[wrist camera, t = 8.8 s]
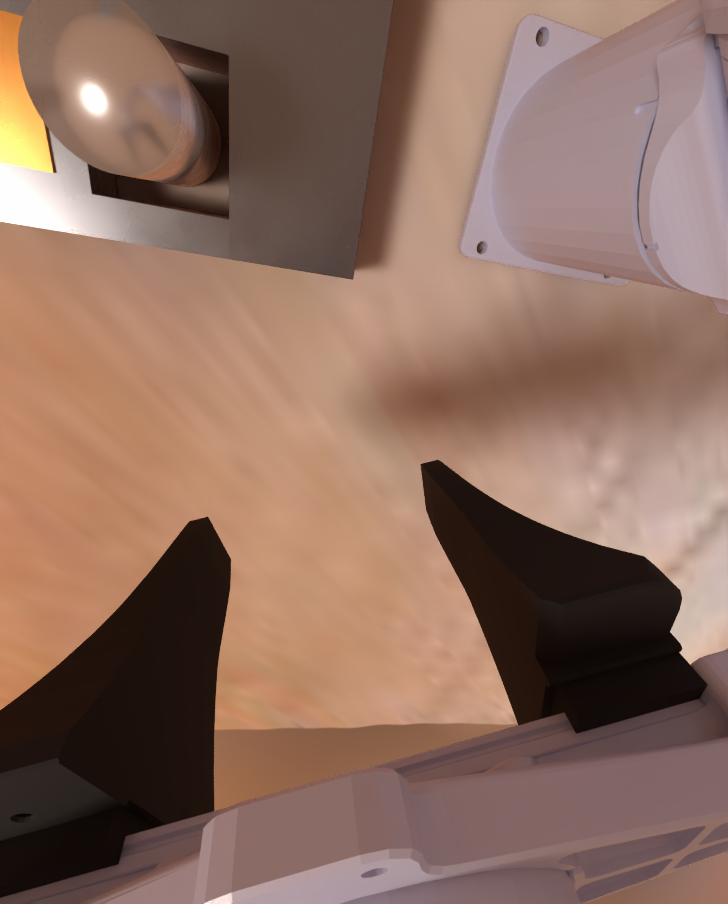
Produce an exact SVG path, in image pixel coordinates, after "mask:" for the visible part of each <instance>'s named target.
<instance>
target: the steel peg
mask: <svg viewBox="0 0 728 904" xmlns="http://www.w3.org/2000/svg"><path fill="white" fill-rule="evenodd" d="M18 54H19V63H20V68H21V73H22V77H23V80H24V83H25V86H26V89H27V92H28V94H29V96H30V98H31V101H32V103H33V105H34V107H35V108H36V110H37V112H38V114H39V115H40V117H41V118H42V120H43V121H44V123H45V124H46V126H47V127H48V128H49V130H50V131H51V132H52V133H53V135H54V136H55V137H56V138H57V139H58V140H59V141H60V142H61V143H62V144H63V145H64V146H65V147H66V148H67V149H68V150H69V151H71V152H72V153H73V154H74V155H76V156H77V157H78V158H80V159H81V160H83V161H84V162H86V163H88V164H89V165H91V166H93V167H95V168H98V169H100V170H102V171H105V172H108V173H112V174H117V175H123V176H128V177H134V178H139V179H145V180H150V181H155V182H161V183H166V184H172V185H177V186H184V187H189V186H195V185H199V184H201V183H203V182H205V181H206V180H207V179H208V178H209V177H210V176H211V175H212V174H213V173H214V171H215V170H216V168H217V166H218V163H219V160H220V155H221V137H220V131H219V127H218V124H217V121H216V119H215V116H214V114H213V112H212V111H211V109H210V107H209V106H208V104H207V103H206V101H205V100H204V99H203V97H202V96H201V95H200V93H199V92H198V91H197V89H196V88H195V87H194V85H193V84H192V83H191V81H190V80H189V79H188V78H187V76H186V75H185V74H184V72H183V71H182V70H181V68H180V67H179V66H178V64H177V63H176V62H175V60H174V59H173V58H172V56H171V55H170V54H169V52H168V51H167V50H166V48H165V47H164V46H163V45H162V43H161V42H160V41H159V39H158V38H157V37H156V35H155V34H154V33H153V31H152V30H151V29H150V27H149V26H148V25H147V24H146V23H145V22H144V20H143V19H142V18H141V17H140V16H139V15H138V14H137V13H136V12H135V11H134V10H133V9H132V8H131V7H129V6H128V5H127V4H126V3H124V2H123V1H122V0H32V1H31V2H30V4H29V5H28V7H27V9H26V11H25V13H24V15H23V18H22V21H21V24H20V29H19V36H18Z"/></svg>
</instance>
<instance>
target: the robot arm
mask: <svg viewBox="0 0 728 904" xmlns="http://www.w3.org/2000/svg"><path fill="white" fill-rule="evenodd" d="M538 31H540V32H541V33H542V34H543V37H544V38H543V44H542V46H541V47H539V46H538V45H537V43H536V34H537V32H538ZM481 241H482V242H483V244H484V248H483V250H482V251H481V252H480V253H478V252H477V245H478V243H480V242H481ZM459 251H460V253H461V254H462V255H463V256H465V257H468V258H473V259H478V260H483V261H489V262H494V263H499V264H504V265H509V266H515V267H520V268H525V269H530V270H536V271H541V272H546V273H551V274H556V275H562V276H567V277H572V278H577V279H583V280H588V281H593V282H598V283H603V284H609V285H614V286H619V287H620V286H625V285H627V284H628V283H629V282H630V280H632V281H637V282H642V283H647V284H651V285H656V286H661V287H666V288H671V289H676V290H681V291H688V292H692V293H696V294H700V295H704V296H706V297H708V298H709V299H711V300H712V301H713V303H714V304H715V306H716V308H717V311H718V313H720V314H724V315H728V0H677V1H675V2H673V3H671V4H669V5H667V6H666V7H664V8H662V9H660V10H658V11H656V12H654V13H653V14H651V15H649V16H647V17H645V18H643V19H641V20H640V21H638V22H636V23H634V24H632V25H630V26H628V27H627V28H625V29H623V30H621V31H619V32H617V33H615V34H613V35H612V36H610V37H608V38H606V39H602V38H600V37H597V36H594V35H591V34H589V33H586V32H583V31H580V30H578V29H575V28H572V27H569V26H567V25H564V24H561V23H558V22H556V21H553V20H550V19H547V18H545V17H542V16H539V15H537V14H529V15H527V16H526V17H524V18H523V19H522V20H521V21H520V22H519V23H518V24H517V26H516V29H515V31H514V34H513V38H512V42H511V46H510V50H509V54H508V57H507V61H506V65H505V69H504V73H503V77H502V80H501V84H500V88H499V92H498V96H497V100H496V104H495V107H494V111H493V115H492V119H491V123H490V127H489V130H488V134H487V138H486V142H485V146H484V150H483V154H482V157H481V161H480V165H479V169H478V173H477V177H476V181H475V184H474V188H473V192H472V196H471V200H470V204H469V207H468V211H467V215H466V219H465V223H464V227H463V231H462V234H461V238H460V242H459ZM604 275H606V276H604ZM421 471H422V479H423V488H424V496H425V504H426V511H427V513H428V516H429V519H430V521H431V524H432V526H433V529H434V532H435V534H436V536H437V538H438V540H439V542H440V544H441V546H442V548H443V550H444V551H445V553H446V555H447V557H448V559H449V561H450V563H451V565H452V566H453V568H454V570H455V572H456V574H457V576H458V578H459V579H460V581H461V583H462V585H463V587H464V589H465V591H466V593H467V595H468V597H469V599H470V601H471V604H472V606H473V609H474V611H475V614H476V616H477V618H478V621H479V623H480V626H481V628H482V631H483V633H484V636H485V638H486V641H487V643H488V646H489V648H490V651H491V653H492V656H493V658H494V661H495V664H496V666H497V669H498V671H499V674H500V677H501V679H502V682H503V685H504V687H505V690H506V692H507V695H508V698H509V701H510V703H511V706H512V709H513V712H514V714H515V717H516V720H517V723H518V726H515V727H511V728H508V729H504V730H500V731H497V732H493V733H490V734H486V735H483V736H480V737H476V738H472V739H469V740H465V741H461V742H458V743H454V744H451V745H447V746H444V747H440V748H437V749H433V750H429V751H426V752H422V753H419V754H415V755H412V756H409V757H405V758H401V759H398V760H394V761H390V762H387V763H383V764H380V765H377V766H373V767H369V768H366V769H361V770H355V771H350V772H346V773H343V774H339V775H335V776H332V777H328V778H325V779H321V780H318V781H314V782H311V783H307V784H304V785H300V786H297V787H293V788H290V789H286V790H282V791H279V792H276V793H272V794H268V795H264V796H261V797H257V798H254V799H250V800H247V801H243V802H240V803H237V804H235V805H233V806H230V807H227V808H224V809H220V810H217V811H214V723H215V698H216V682H217V667H218V659H219V652H220V646H221V640H222V634H223V628H224V622H225V617H226V611H227V604H228V598H229V592H230V578H231V559H230V557H229V555H228V553H227V551H226V549H225V547H224V546H223V544H222V542H221V540H220V538H219V536H218V534H217V533H216V531H215V529H214V527H213V525H212V523H211V521H210V520H209V518H208V517H205V518H201V519H197V520H193V521H190V522H189V523H188V524H187V525H186V526H185V527H184V529H183V530H182V531H181V532H180V534H179V535H178V536H177V538H176V539H175V540H174V542H173V543H172V544H171V545H170V547H169V548H168V549H167V551H166V552H165V553H164V554H163V556H162V557H161V558H160V560H159V561H158V562H157V563H156V565H155V566H154V567H153V568H152V570H151V571H150V572H149V573H148V575H147V576H146V577H145V578H144V579H143V580H142V582H141V583H140V584H139V585H138V586H137V587H136V589H135V590H134V591H133V592H132V593H131V595H130V596H129V597H128V598H127V599H126V600H125V601H124V602H123V604H122V605H121V606H120V607H119V608H118V609H117V610H116V611H115V612H114V613H113V614H112V615H111V616H110V617H109V618H108V619H107V620H106V621H105V622H104V623H103V624H102V625H101V626H100V627H99V628H98V629H97V630H96V631H95V632H94V633H93V634H92V635H91V636H90V637H89V638H88V639H87V640H85V641H84V642H83V643H82V644H81V645H80V646H79V647H78V648H77V649H75V650H74V651H73V652H72V653H71V654H70V655H69V656H68V657H67V658H66V659H64V660H63V661H62V662H61V663H60V664H59V665H57V666H56V667H55V668H54V669H53V670H51V671H50V672H49V673H48V674H47V675H45V676H44V677H43V678H42V679H41V680H39V681H38V682H37V683H35V684H34V685H33V686H32V687H30V688H29V689H28V690H27V691H25V692H24V693H23V694H22V695H20V696H19V697H18V698H16V699H15V700H14V701H12V702H11V703H10V704H8V705H7V706H6V707H4V708H3V709H1V710H0V904H584V903H587V902H590V901H593V900H596V899H598V898H601V897H604V896H607V895H609V894H612V893H615V892H618V891H621V890H623V889H626V888H629V887H632V886H634V885H637V884H640V883H643V882H645V881H648V880H651V879H654V878H657V877H659V876H662V875H665V874H667V873H670V872H673V871H676V870H679V869H681V868H684V867H687V866H690V865H693V864H695V863H698V862H701V861H703V860H706V859H709V858H712V857H715V856H718V855H721V854H723V853H726V852H728V650H725V651H721V652H718V653H714V654H710V655H707V656H704V657H702V658H699V659H698V660H696V661H695V662H693V663H692V664H691V665H690V664H689V663H688V662H687V661H686V660H685V659H684V658H683V656H682V655H681V654H680V653H679V652H680V651H681V650H682V646H681V644H680V643H679V642H678V641H677V639H676V638H675V637H674V636H673V635H672V634H671V633H670V630H671V628H672V626H673V624H674V621H675V619H676V617H677V614H678V612H679V610H680V606H681V602H682V596H681V592H680V590H679V589H678V588H677V587H676V586H675V585H674V584H673V583H672V582H671V581H670V580H669V579H668V578H667V577H666V576H665V575H664V574H663V573H662V572H661V571H660V570H659V569H658V568H657V567H656V566H655V565H654V564H652V563H651V562H650V561H649V560H648V559H647V558H645V557H644V556H640V555H636V554H632V553H628V552H624V551H620V550H617V549H613V548H609V547H605V546H601V545H598V544H595V543H592V542H589V541H586V540H582V539H579V538H576V537H574V536H571V535H568V534H565V533H563V532H560V531H558V530H555V529H553V528H550V527H548V526H545V525H543V524H540V523H538V522H536V521H534V520H531V519H529V518H527V517H525V516H523V515H521V514H519V513H517V512H515V511H513V510H511V509H510V508H508V507H506V506H504V505H503V504H501V503H499V502H497V501H496V500H494V499H493V498H491V497H489V496H488V495H486V494H485V493H483V492H482V491H480V490H479V489H477V488H476V487H474V486H473V485H471V484H470V483H469V482H467V481H466V480H465V479H463V478H462V477H460V476H459V475H458V474H456V473H455V472H454V471H453V470H451V469H450V468H449V467H447V466H446V465H445V464H444V463H442V462H441V461H439V460H435V461H431V462H427V463H423V464H421Z"/></svg>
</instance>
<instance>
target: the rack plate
mask: <svg viewBox="0 0 728 904" xmlns="http://www.w3.org/2000/svg"><path fill="white" fill-rule="evenodd" d="M31 1H32V0H0V221H2V222H8V223H14V224H20V225H26V226H32V227H38V228H44V229H50V230H56V231H62V232H68V233H74V234H80V235H86V236H92V237H98V238H105V239H111V240H117V241H123V242H129V243H135V244H141V245H147V246H153V247H159V248H165V249H171V250H177V251H183V252H189V253H195V254H202V255H208V256H214V257H220V258H226V259H232V260H238V261H244V262H250V263H256V264H262V265H268V266H274V267H280V268H286V269H292V270H298V271H305V272H311V273H317V274H323V275H329V276H335V277H341V278H347V279H353V276H354V269H355V262H356V256H357V249H358V242H359V235H360V228H361V221H362V214H363V207H364V200H365V194H366V187H367V180H368V173H369V166H370V159H371V152H372V145H373V139H374V132H375V125H376V118H377V111H378V104H379V97H380V90H381V83H382V77H383V70H384V63H385V56H386V49H387V42H388V35H389V28H390V21H391V15H392V8H393V1H394V0H122V1H123V2H124V3H126V4H127V5H128V6H129V7H131V8H132V9H133V10H134V11H135V12H136V13H137V14H138V15H139V16H140V17H141V18H142V19H143V20H144V22H145V23H146V24H147V25H148V26H149V27H150V29H151V30H152V31H153V33H154V34H155V35H156V37H157V38H158V39H159V41H160V42H161V43H162V45H163V46H164V47H165V48H166V50H167V51H168V52H169V54H170V55H171V56H172V58H173V59H174V60H175V62H179V63H182V64H186V65H190V66H194V67H197V68H201V69H205V70H209V71H212V72H216V73H220V74H224V75H227V76H229V217H226V216H221V215H216V214H210V213H205V212H200V211H194V210H189V209H184V208H178V207H173V206H168V205H162V204H157V203H152V202H147V201H141V200H136V199H131V198H125V197H120V196H119V195H118V187H117V179H116V174H112V173H108V172H105V171H102V170H100V169H98V168H95V167H93V166H91V165H89V164H88V163H86V162H84V161H83V160H81V159H80V158H78V157H77V156H76V155H74V154H73V153H72V152H71V151H69V150H68V149H67V148H66V147H65V146H64V145H63V144H62V143H61V142H60V141H59V140H58V139H57V138H56V137H55V136H54V135H53V133H52V132H51V131H50V130H49V128H48V127H47V126H46V124H45V123H44V121H43V120H42V118H41V117H40V115H39V114H38V112H37V110H36V108H35V107H34V105H33V103H32V101H31V98H30V96H29V94H28V92H27V89H26V86H25V83H24V80H23V77H22V73H21V68H20V63H19V54H18V36H19V29H20V24H21V21H22V18H23V15H24V13H25V11H26V9H27V7H28V5H29V4H30V2H31Z"/></svg>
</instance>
